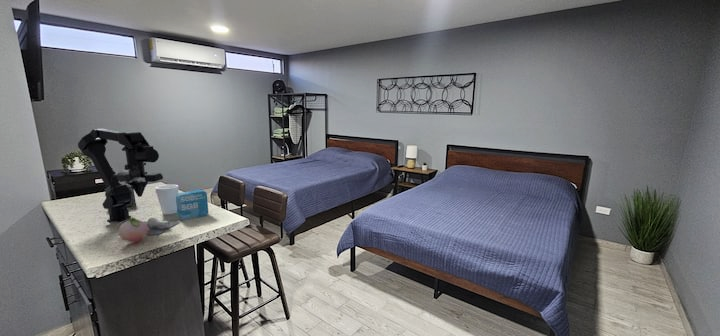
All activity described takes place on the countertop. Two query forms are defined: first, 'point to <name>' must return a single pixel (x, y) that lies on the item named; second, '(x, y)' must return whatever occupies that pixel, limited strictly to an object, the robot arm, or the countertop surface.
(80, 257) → the countertop surface
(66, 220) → the countertop surface
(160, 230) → the mat
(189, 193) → the data package
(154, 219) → the rook chess piece
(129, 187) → the small box
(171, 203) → the foam cup
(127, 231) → the decorative fruit
